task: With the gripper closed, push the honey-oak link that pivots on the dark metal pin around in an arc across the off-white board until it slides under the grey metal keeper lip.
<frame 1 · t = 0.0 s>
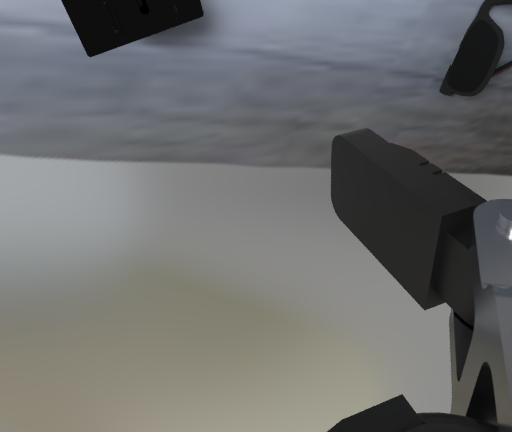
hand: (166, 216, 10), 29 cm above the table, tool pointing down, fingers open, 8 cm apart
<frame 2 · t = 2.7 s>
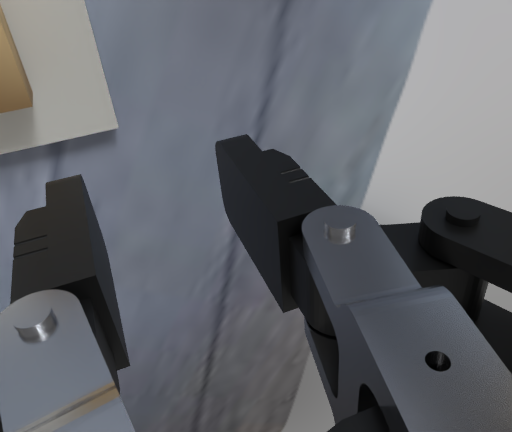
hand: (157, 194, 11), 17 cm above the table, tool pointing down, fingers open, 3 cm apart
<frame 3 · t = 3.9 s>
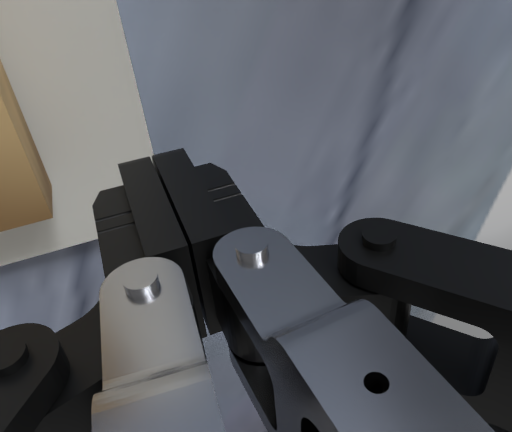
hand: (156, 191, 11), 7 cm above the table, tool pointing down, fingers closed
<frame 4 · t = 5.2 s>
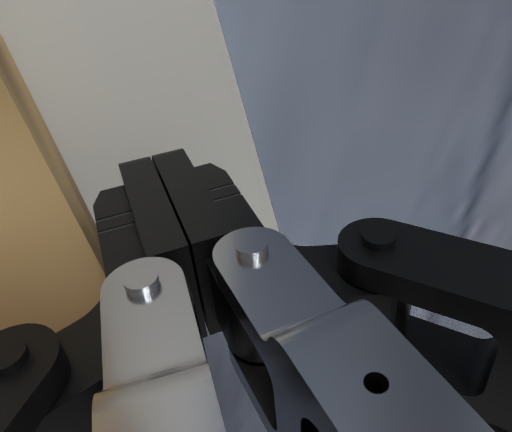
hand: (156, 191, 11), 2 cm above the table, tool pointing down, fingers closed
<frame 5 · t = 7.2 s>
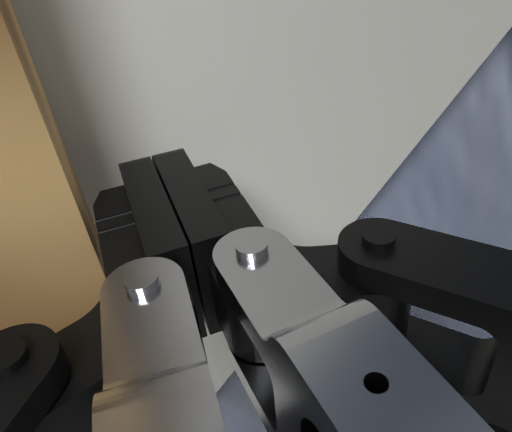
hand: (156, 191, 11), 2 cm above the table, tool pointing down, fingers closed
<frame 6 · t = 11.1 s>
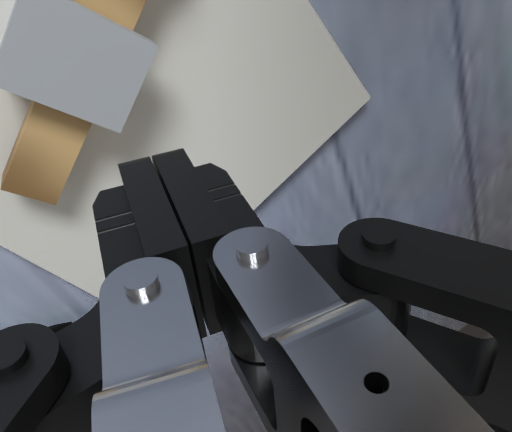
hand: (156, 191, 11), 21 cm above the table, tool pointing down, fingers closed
oak link: (90, 48, 25), point 3 cm above the table, hinge at -70.9°
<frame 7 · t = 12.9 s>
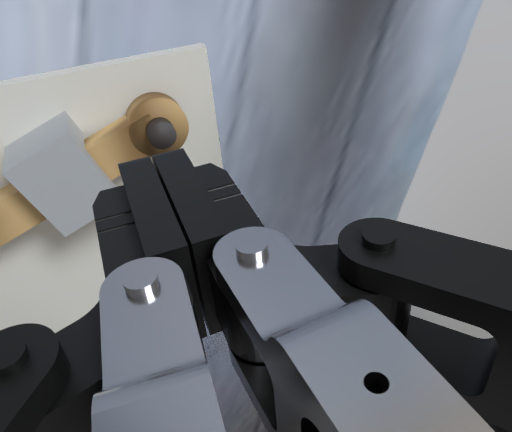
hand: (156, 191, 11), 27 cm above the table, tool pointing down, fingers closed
oak link: (77, 176, 35), point 3 cm above the table, hinge at -70.9°
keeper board: (149, 111, 38), on the table
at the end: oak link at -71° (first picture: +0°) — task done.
